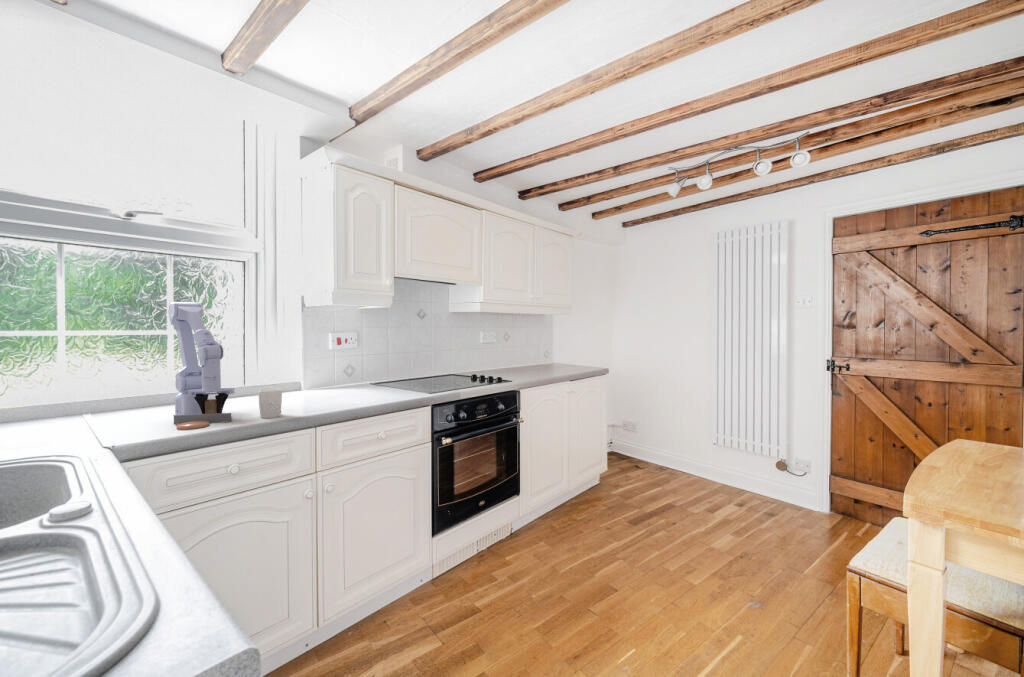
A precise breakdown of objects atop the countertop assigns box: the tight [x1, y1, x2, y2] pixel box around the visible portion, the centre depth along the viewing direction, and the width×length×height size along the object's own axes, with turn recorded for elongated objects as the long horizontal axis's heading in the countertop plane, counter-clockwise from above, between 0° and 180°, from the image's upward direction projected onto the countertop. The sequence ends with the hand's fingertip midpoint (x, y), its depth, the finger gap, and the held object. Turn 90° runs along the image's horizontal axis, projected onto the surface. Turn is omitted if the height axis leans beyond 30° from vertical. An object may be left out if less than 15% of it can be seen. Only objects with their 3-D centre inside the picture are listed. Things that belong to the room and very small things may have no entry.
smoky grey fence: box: [173, 412, 232, 425], centre depth 155 cm, size 18×1×3 cm, turn 100°
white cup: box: [257, 388, 283, 419], centre depth 165 cm, size 8×8×10 cm
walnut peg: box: [205, 398, 217, 414], centre depth 161 cm, size 4×4×7 cm
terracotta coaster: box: [175, 421, 210, 431], centre depth 149 cm, size 9×9×1 cm
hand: (212, 414), depth 161 cm, fingers closed on walnut peg, 4 cm apart
